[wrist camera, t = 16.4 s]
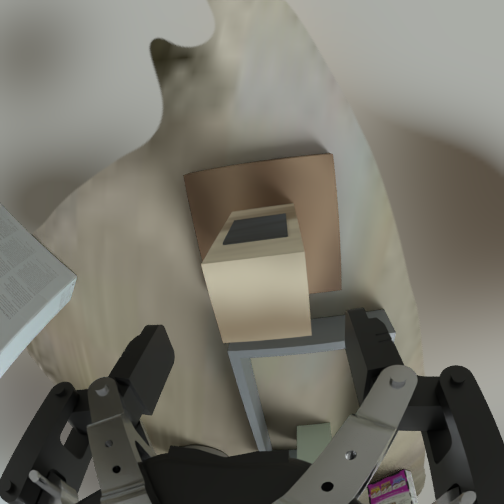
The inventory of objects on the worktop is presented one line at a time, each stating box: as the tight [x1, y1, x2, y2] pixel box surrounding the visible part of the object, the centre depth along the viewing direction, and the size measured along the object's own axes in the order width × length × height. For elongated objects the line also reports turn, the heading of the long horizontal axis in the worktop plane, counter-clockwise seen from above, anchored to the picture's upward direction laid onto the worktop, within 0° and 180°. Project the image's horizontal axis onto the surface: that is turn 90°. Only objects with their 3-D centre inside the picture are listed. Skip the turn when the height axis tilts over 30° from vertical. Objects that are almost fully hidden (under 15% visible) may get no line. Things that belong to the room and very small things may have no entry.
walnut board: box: [183, 153, 341, 294], centre depth 24 cm, size 12×12×2 cm
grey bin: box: [228, 309, 396, 459], centre depth 32 cm, size 16×30×4 cm, turn 9°
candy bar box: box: [367, 469, 418, 504], centre depth 39 cm, size 11×5×16 cm, turn 137°
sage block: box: [297, 423, 332, 464], centre depth 32 cm, size 5×5×10 cm
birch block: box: [201, 203, 312, 343], centre depth 19 cm, size 5×5×10 cm
